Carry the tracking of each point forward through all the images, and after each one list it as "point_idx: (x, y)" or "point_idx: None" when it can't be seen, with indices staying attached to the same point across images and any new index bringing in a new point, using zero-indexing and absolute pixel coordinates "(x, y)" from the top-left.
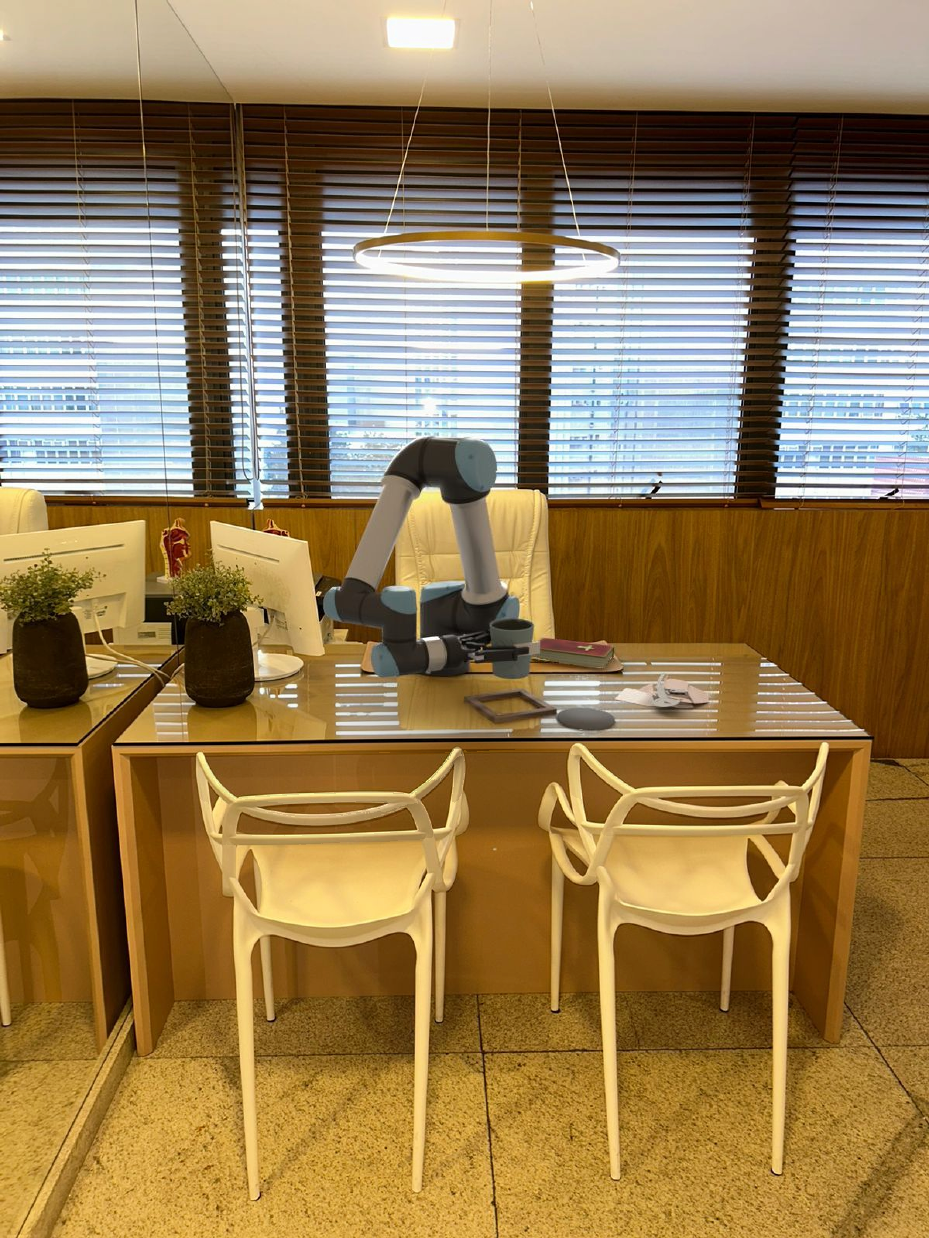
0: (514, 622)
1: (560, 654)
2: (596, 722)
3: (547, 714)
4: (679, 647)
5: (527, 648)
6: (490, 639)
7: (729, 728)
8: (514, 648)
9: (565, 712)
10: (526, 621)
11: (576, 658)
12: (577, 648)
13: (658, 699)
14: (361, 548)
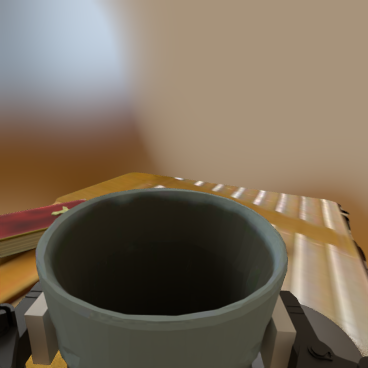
0: (106, 212)
1: (40, 234)
2: (327, 340)
3: None
4: (111, 183)
5: (297, 301)
6: (23, 354)
7: (326, 237)
8: (335, 359)
9: (262, 361)
10: (155, 193)
11: None
12: (54, 216)
13: None
14: None
